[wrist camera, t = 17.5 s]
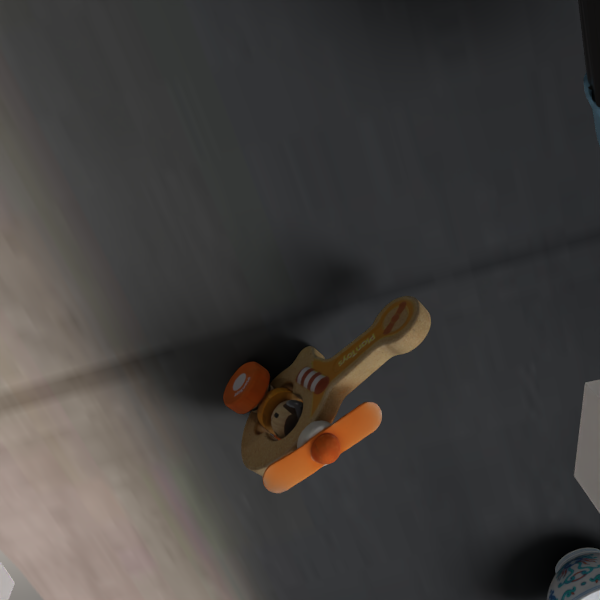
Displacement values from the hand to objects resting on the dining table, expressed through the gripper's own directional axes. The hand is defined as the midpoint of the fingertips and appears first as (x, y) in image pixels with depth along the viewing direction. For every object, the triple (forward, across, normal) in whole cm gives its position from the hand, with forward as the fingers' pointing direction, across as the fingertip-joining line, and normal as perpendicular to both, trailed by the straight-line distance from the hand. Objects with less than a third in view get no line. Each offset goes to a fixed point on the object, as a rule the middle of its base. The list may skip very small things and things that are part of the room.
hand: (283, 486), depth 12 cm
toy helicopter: (+35, +1, -21) cm, 41 cm away
